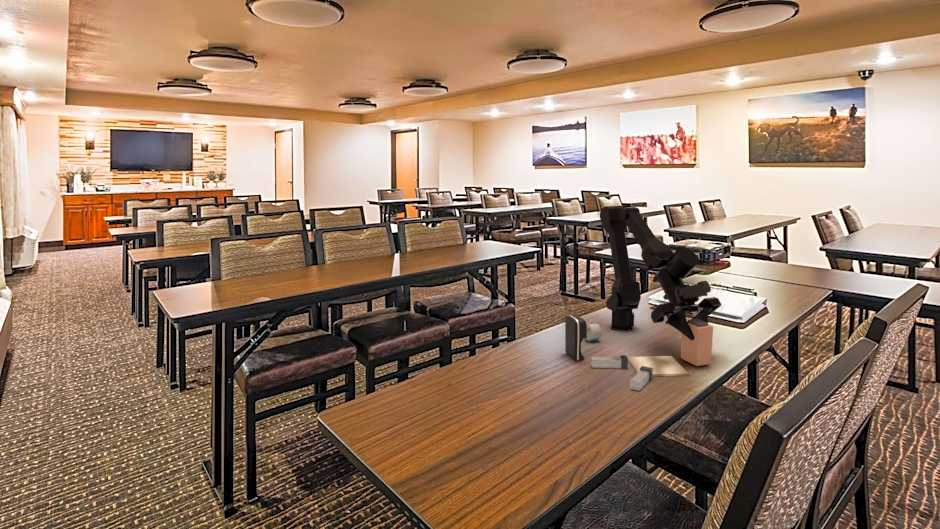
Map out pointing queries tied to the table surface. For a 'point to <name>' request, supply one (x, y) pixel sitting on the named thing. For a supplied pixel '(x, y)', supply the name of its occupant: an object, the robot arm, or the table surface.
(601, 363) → the shaft side
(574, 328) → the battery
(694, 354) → the peach upright block
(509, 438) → the table surface
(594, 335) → the electric motor
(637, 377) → the shaft front
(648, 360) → the pad
